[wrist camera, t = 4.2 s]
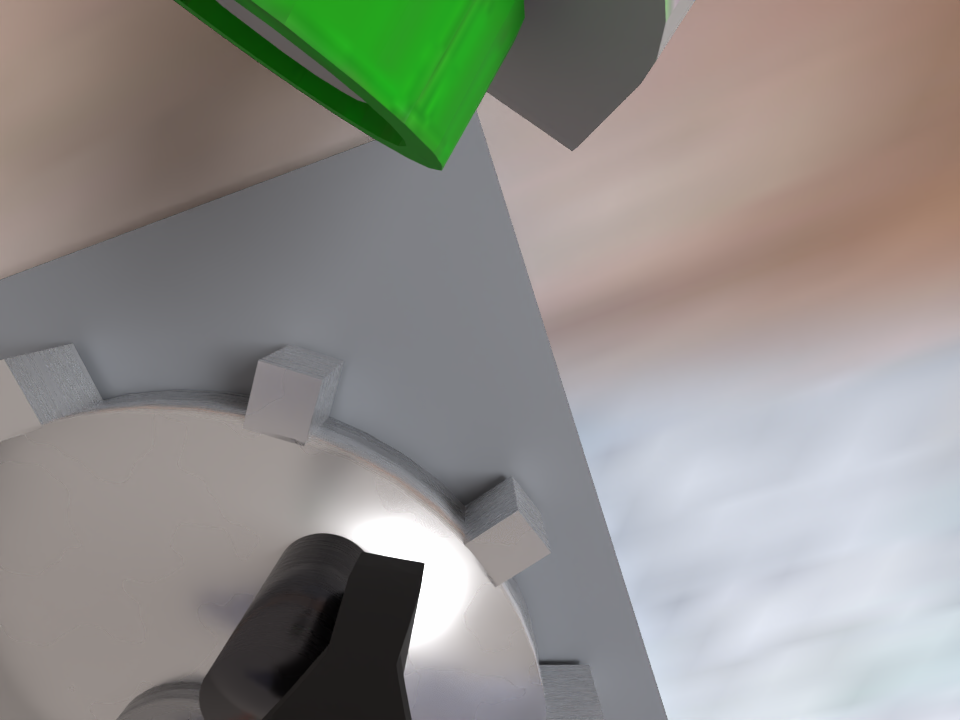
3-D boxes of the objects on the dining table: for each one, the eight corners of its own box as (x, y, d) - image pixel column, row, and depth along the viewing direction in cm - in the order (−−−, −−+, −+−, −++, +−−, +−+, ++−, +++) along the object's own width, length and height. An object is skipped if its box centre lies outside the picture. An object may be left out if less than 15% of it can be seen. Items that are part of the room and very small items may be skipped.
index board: (697, 823, 15) (723, 888, 13) (36, 998, 16) (-9, 1076, 15) (474, 117, 10) (474, 93, 9) (-436, 454, 12) (-577, 486, 10)
